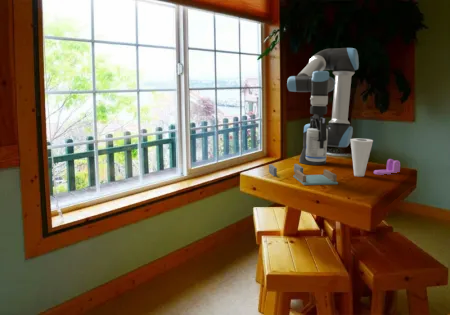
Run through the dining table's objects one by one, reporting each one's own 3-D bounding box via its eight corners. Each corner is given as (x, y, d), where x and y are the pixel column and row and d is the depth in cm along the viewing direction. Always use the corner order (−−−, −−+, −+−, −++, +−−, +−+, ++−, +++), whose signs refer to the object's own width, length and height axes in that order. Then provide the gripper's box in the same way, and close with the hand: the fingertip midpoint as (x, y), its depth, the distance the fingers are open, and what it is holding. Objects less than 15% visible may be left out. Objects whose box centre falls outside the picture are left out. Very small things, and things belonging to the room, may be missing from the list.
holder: (296, 171, 205) (297, 163, 204) (303, 175, 195) (303, 167, 194) (268, 171, 203) (269, 164, 202) (273, 176, 193) (273, 168, 192)
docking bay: (324, 176, 194) (325, 168, 194) (337, 184, 179) (338, 176, 178) (293, 176, 192) (293, 169, 191) (304, 185, 177) (304, 176, 176)
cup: (359, 178, 190) (362, 141, 186) (343, 174, 199) (345, 139, 195) (375, 176, 194) (377, 140, 191) (358, 172, 204) (361, 138, 200)
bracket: (391, 171, 207) (393, 158, 206) (399, 173, 202) (400, 160, 201) (371, 173, 203) (372, 159, 202) (378, 175, 198) (379, 161, 197)
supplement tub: (306, 158, 189) (307, 127, 187) (326, 159, 187) (328, 128, 184) (304, 161, 180) (305, 129, 178) (325, 162, 177) (327, 130, 175)
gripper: (303, 104, 189) (300, 150, 193) (319, 106, 168) (317, 157, 171) (317, 104, 190) (315, 149, 194) (336, 106, 169) (333, 157, 172)
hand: (316, 153), depth 183 cm, fingers closed on supplement tub, 10 cm apart
